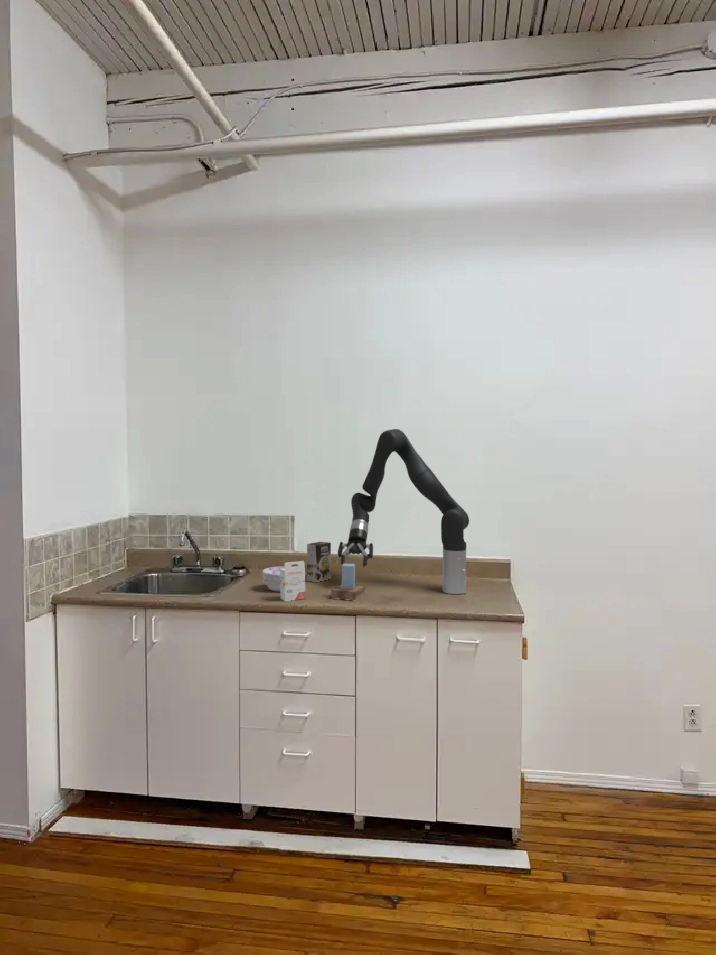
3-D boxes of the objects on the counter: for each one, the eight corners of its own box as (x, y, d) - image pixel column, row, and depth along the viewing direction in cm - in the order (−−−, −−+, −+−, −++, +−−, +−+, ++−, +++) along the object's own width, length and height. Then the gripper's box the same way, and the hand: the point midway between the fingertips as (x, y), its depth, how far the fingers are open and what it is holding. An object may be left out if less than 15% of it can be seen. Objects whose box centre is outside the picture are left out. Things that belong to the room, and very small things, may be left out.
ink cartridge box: (300, 596, 260) (300, 558, 259) (305, 599, 255) (305, 560, 254) (279, 598, 256) (279, 560, 255) (284, 601, 251) (284, 562, 251)
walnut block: (365, 596, 262) (365, 586, 261) (355, 602, 253) (355, 592, 252) (341, 594, 266) (341, 584, 265) (331, 599, 256) (331, 589, 256)
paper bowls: (268, 594, 262) (268, 574, 261) (258, 586, 276) (257, 567, 275) (305, 591, 268) (305, 571, 268) (293, 583, 282) (293, 564, 282)
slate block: (354, 586, 261) (355, 563, 260) (353, 589, 256) (353, 566, 255) (342, 586, 261) (343, 563, 260) (341, 589, 257) (341, 566, 256)
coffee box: (317, 583, 283) (317, 545, 282) (306, 581, 287) (306, 543, 286) (331, 579, 290) (331, 542, 289) (320, 577, 294) (320, 540, 293)
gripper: (340, 526, 279) (334, 559, 268) (374, 527, 276) (369, 560, 266) (343, 537, 284) (337, 569, 274) (376, 538, 282) (371, 571, 271)
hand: (353, 565), depth 270 cm, fingers open, 8 cm apart
